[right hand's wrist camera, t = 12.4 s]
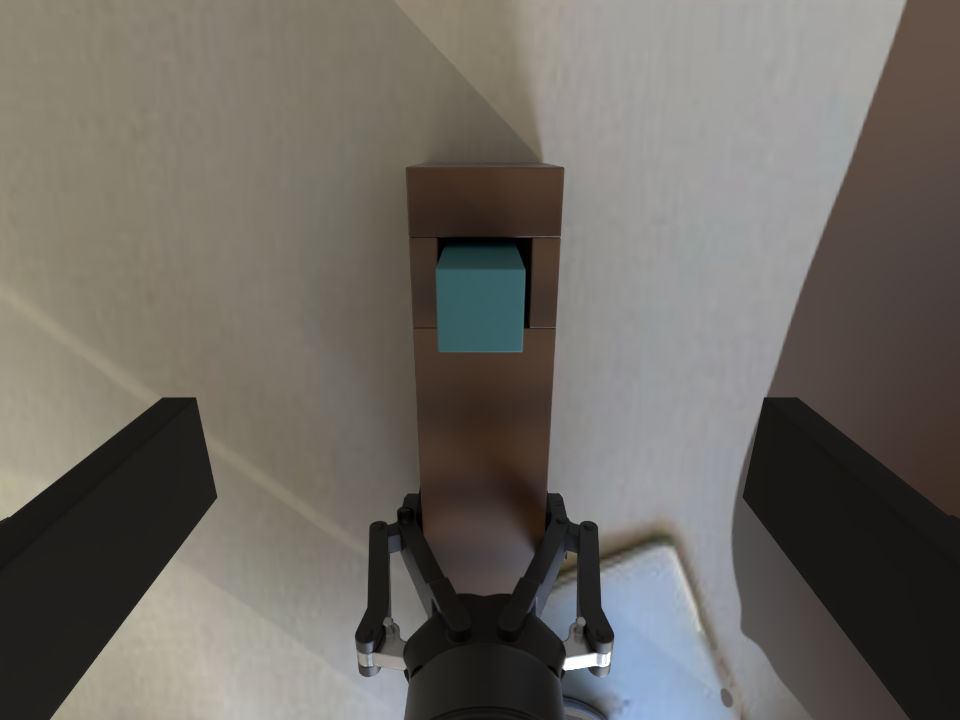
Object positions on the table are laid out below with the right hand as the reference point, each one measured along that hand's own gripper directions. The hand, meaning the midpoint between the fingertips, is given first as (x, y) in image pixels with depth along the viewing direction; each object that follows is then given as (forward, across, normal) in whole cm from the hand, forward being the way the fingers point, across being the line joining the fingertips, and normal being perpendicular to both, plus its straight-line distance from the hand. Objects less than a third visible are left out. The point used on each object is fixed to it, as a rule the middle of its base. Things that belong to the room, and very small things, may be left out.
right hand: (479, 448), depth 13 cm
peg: (+27, 0, 0) cm, 27 cm away
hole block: (+26, 0, -8) cm, 28 cm away
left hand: (+26, 0, -18) cm, 32 cm away
